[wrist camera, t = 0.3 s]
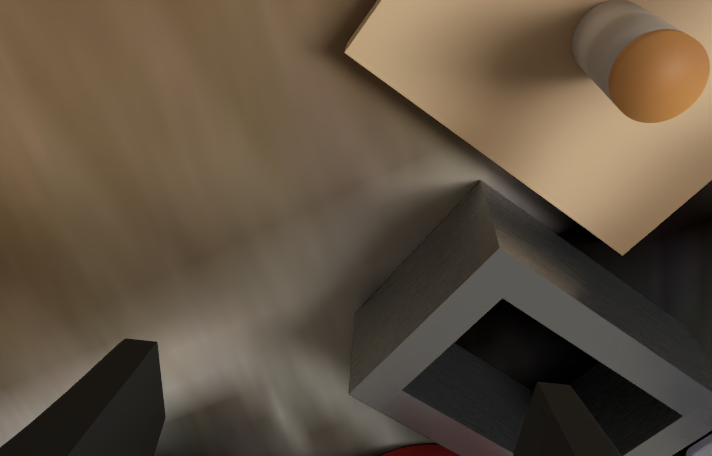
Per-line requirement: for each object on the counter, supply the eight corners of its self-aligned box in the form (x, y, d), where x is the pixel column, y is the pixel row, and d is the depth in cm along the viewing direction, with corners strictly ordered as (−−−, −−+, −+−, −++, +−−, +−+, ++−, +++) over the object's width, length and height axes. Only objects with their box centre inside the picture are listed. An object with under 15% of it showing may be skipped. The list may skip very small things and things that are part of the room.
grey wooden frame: (687, 327, 22) (741, 411, 19) (549, 428, 25) (573, 517, 22) (480, 180, 20) (499, 247, 16) (354, 314, 23) (348, 394, 19)
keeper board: (868, 15, 16) (1014, 62, 13) (612, 239, 20) (664, 326, 17) (578, -287, 14) (654, -345, 10) (346, 43, 18) (334, 94, 14)
